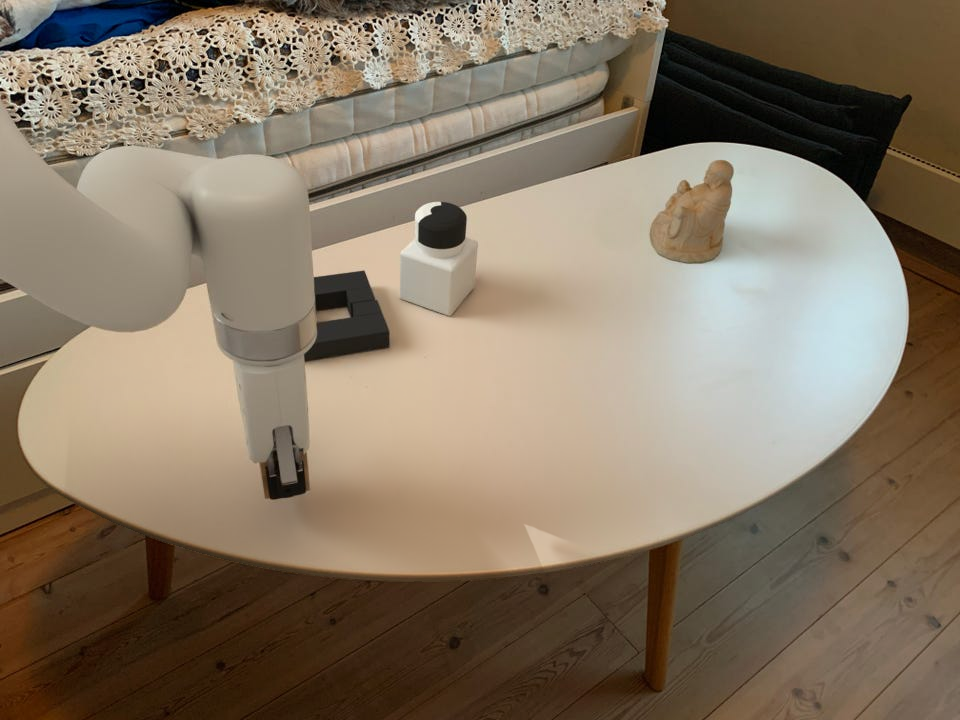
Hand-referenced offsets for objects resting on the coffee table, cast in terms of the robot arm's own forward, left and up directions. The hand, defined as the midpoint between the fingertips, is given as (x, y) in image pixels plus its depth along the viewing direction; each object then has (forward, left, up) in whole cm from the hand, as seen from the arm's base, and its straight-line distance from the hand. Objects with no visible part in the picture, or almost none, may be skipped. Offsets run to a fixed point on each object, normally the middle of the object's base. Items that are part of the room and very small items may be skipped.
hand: (283, 473), depth 71 cm
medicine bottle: (+23, +27, -4) cm, 35 cm away
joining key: (0, 0, -1) cm, 1 cm away
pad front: (+9, +21, -4) cm, 23 cm away
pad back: (+9, +27, -4) cm, 29 cm away
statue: (+61, +31, -4) cm, 68 cm away
